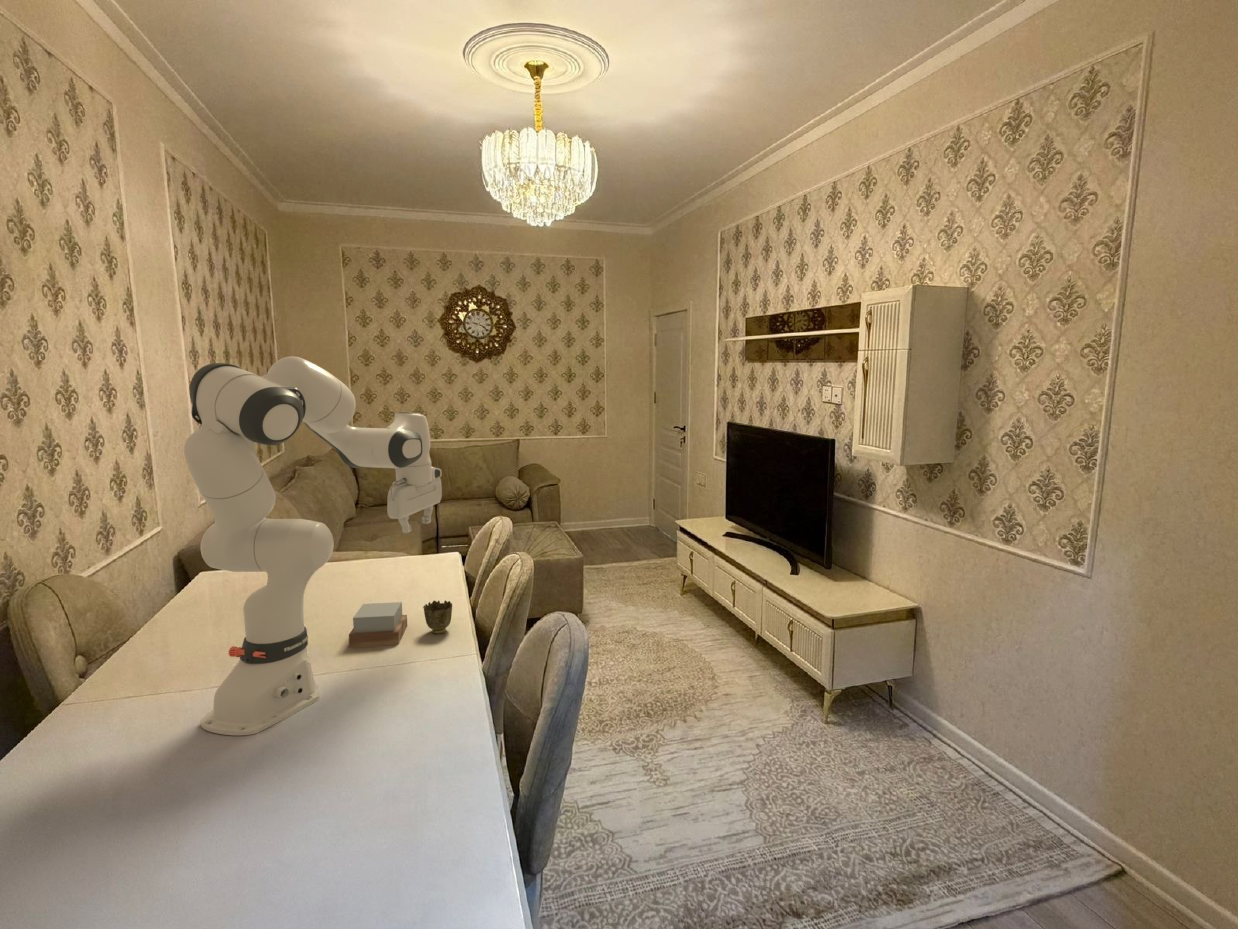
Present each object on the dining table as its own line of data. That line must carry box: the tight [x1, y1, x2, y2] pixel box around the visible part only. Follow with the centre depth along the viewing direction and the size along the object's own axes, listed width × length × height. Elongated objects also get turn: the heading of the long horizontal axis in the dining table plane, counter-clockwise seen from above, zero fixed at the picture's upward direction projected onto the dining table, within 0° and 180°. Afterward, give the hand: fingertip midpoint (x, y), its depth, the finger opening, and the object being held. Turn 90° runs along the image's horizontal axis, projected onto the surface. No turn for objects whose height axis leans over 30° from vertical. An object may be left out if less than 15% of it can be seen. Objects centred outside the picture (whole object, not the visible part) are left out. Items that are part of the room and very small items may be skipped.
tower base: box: [348, 614, 408, 649], centre depth 167 cm, size 12×12×4 cm
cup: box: [422, 600, 453, 635], centre depth 169 cm, size 8×7×8 cm
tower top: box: [352, 601, 403, 633], centre depth 166 cm, size 10×10×4 cm
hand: (417, 527), depth 164 cm, fingers open, 8 cm apart
